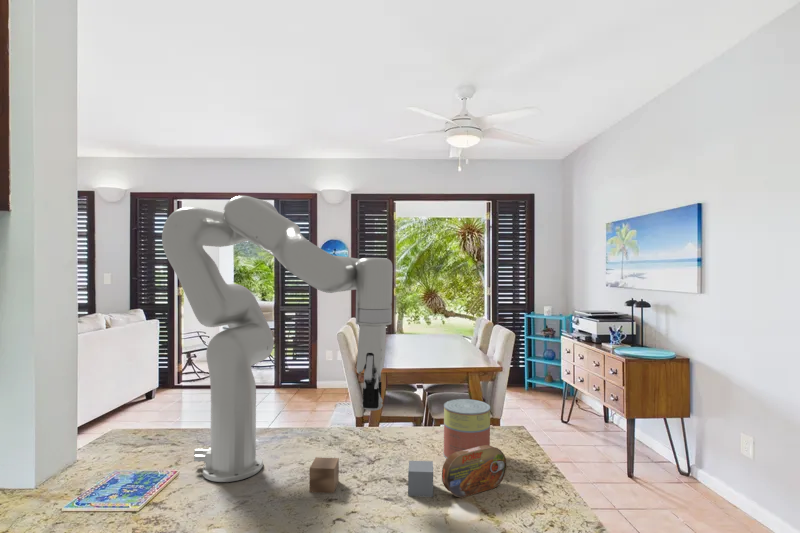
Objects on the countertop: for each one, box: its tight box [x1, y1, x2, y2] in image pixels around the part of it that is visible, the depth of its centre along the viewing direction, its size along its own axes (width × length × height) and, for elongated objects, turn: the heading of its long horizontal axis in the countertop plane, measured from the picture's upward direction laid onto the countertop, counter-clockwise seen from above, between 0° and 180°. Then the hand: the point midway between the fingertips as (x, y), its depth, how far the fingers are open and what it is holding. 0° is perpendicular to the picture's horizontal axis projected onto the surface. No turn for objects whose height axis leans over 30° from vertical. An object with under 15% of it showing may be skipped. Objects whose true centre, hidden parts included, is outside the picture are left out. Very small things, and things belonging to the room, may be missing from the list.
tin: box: [441, 445, 508, 499], centre depth 92 cm, size 15×3×8 cm, turn 118°
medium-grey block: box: [407, 460, 434, 498], centre depth 92 cm, size 5×5×5 cm
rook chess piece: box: [361, 370, 384, 411], centre depth 94 cm, size 4×4×8 cm
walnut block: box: [308, 456, 340, 494], centre depth 93 cm, size 5×5×5 cm
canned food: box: [442, 398, 491, 459], centre depth 109 cm, size 11×11×12 cm
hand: (372, 402), depth 94 cm, fingers closed on rook chess piece, 4 cm apart
